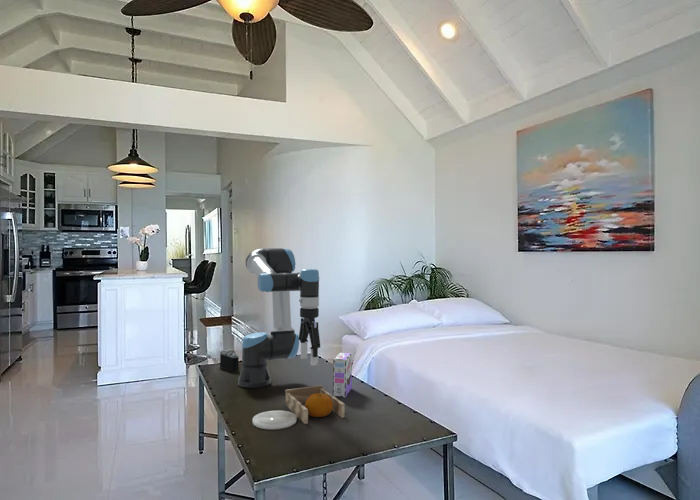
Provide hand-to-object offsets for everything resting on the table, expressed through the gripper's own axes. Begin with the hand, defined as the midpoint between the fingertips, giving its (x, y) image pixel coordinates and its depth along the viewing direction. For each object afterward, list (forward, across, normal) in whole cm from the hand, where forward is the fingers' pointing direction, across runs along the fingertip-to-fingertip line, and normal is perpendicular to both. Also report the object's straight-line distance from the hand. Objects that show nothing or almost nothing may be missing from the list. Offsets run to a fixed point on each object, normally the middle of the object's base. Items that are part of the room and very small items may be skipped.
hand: (308, 361), depth 185 cm
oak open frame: (+18, +6, 0) cm, 19 cm away
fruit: (+18, +12, 0) cm, 21 cm away
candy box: (+18, -10, +20) cm, 29 cm away
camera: (+18, -74, -16) cm, 77 cm away
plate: (+18, +10, -17) cm, 27 cm away
